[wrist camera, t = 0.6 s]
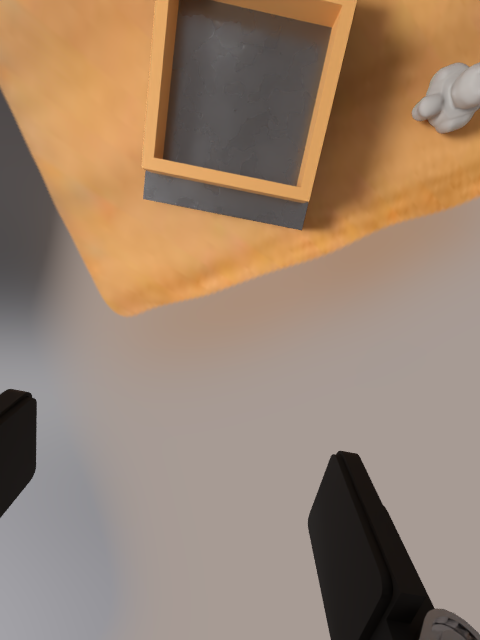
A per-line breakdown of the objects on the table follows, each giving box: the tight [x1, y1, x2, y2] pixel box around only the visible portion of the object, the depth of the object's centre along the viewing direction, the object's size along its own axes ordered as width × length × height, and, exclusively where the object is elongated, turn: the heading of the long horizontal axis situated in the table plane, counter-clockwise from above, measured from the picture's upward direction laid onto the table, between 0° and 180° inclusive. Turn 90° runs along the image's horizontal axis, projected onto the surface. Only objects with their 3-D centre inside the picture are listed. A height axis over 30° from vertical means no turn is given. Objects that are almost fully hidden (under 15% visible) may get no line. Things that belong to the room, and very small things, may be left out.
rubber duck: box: [412, 63, 480, 133], centre depth 28 cm, size 5×7×8 cm
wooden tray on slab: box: [141, 0, 357, 230], centre depth 29 cm, size 20×16×7 cm
